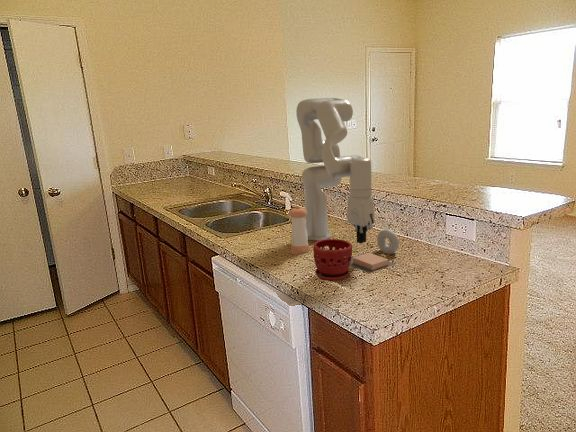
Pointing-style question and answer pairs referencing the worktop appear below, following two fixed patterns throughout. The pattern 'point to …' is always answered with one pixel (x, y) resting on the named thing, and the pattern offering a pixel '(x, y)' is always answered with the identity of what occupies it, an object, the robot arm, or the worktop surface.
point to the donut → (392, 238)
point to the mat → (366, 268)
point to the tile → (370, 261)
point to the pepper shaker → (299, 231)
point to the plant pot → (332, 259)
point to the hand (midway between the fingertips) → (361, 242)
